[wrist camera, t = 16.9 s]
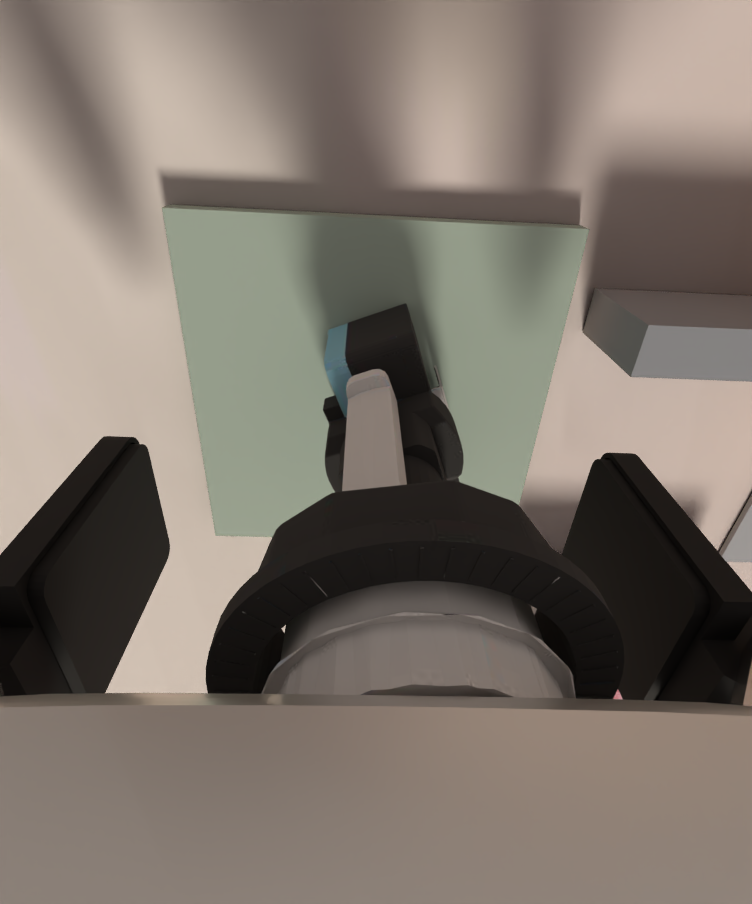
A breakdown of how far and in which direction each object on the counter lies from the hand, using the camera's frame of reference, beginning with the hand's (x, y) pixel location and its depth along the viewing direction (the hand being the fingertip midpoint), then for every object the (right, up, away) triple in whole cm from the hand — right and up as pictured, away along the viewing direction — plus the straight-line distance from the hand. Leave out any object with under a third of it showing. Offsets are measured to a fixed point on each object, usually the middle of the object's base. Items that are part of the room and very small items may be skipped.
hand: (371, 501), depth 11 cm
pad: (0, +3, +4) cm, 5 cm away
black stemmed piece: (+1, +2, +4) cm, 5 cm away
